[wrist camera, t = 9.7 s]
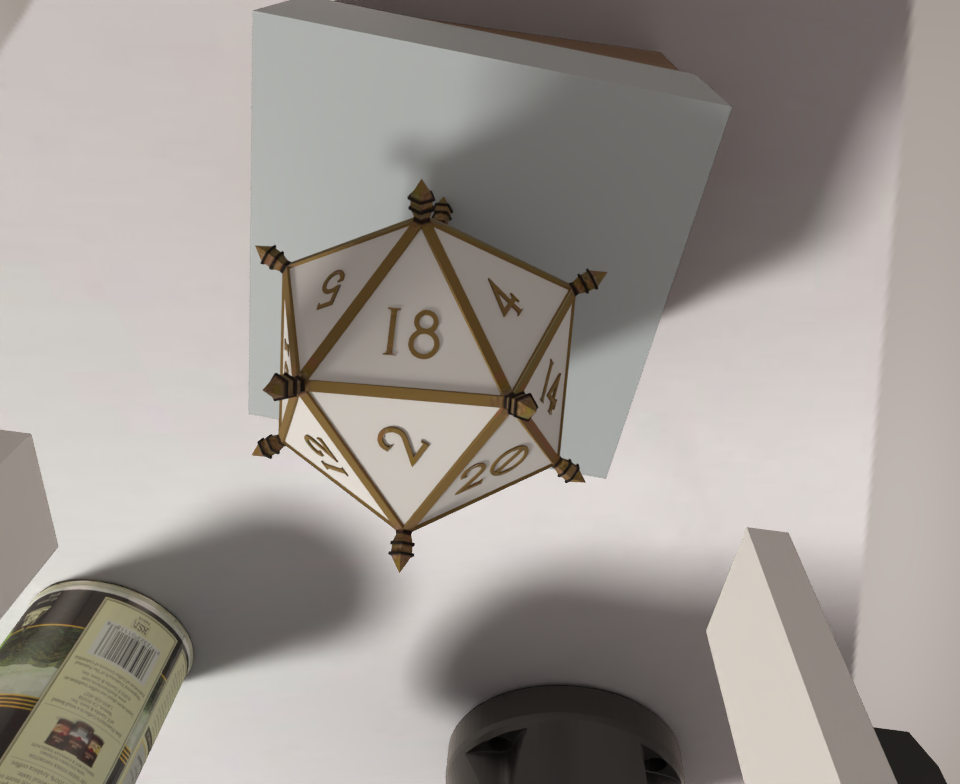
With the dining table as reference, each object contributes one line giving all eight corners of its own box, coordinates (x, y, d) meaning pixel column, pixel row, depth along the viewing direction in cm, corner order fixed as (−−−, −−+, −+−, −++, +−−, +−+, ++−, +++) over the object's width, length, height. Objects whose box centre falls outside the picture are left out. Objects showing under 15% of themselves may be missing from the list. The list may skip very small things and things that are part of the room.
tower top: (595, 399, 29) (605, 478, 25) (291, 342, 29) (248, 413, 24) (695, 74, 23) (732, 106, 18) (306, -5, 22) (252, 10, 18)
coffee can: (25, 665, 48) (-147, 910, 36) (31, 557, 42) (-168, 802, 30) (183, 709, 49) (68, 959, 37) (208, 610, 44) (84, 864, 32)
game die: (490, 207, 24) (732, 203, 16) (471, 461, 26) (681, 582, 17) (197, 177, 20) (312, 147, 11) (197, 485, 21) (296, 666, 13)
